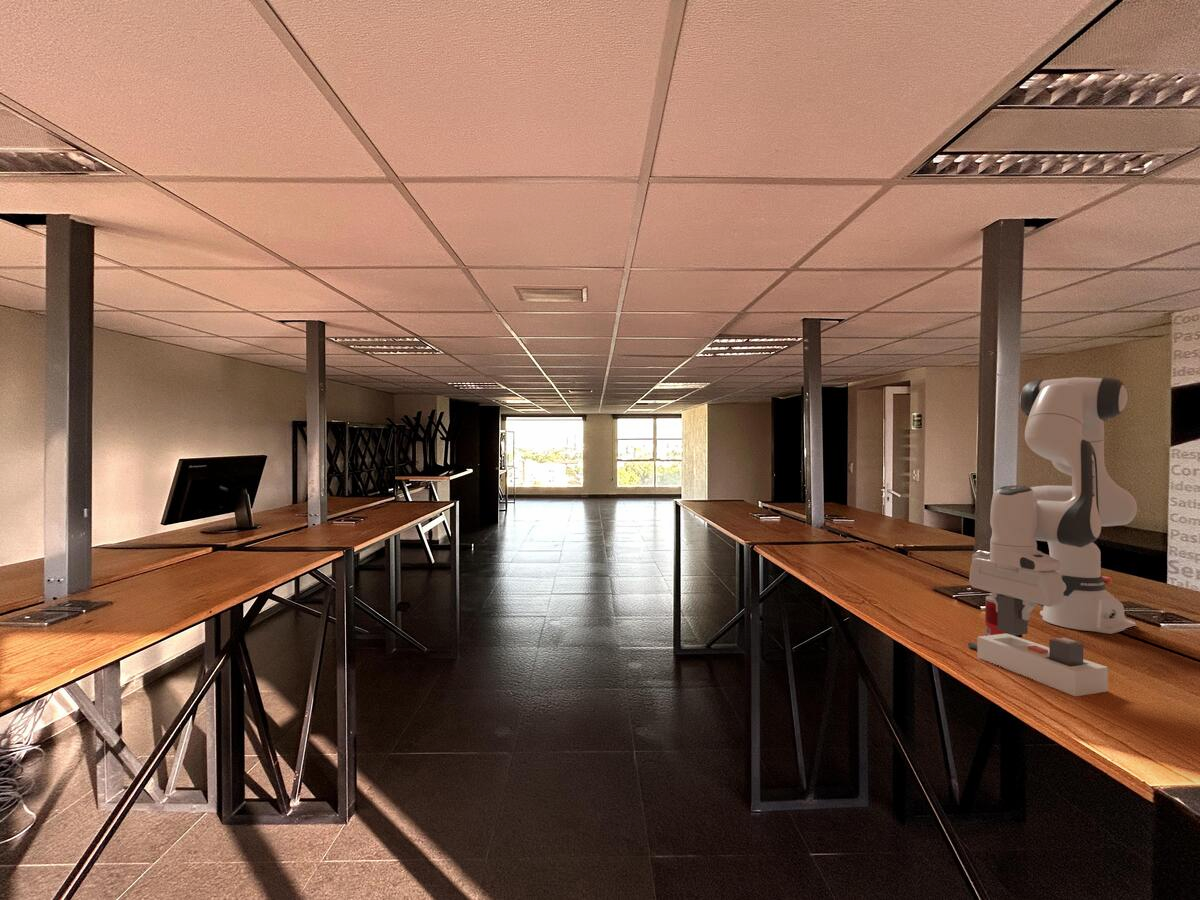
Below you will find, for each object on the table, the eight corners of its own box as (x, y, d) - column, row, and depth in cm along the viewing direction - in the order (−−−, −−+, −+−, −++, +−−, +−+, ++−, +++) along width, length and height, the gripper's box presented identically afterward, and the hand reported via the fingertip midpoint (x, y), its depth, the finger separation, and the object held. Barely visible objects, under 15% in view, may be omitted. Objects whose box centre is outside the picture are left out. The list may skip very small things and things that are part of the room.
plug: (1010, 628, 136) (1010, 592, 136) (1027, 633, 132) (1027, 597, 132) (997, 629, 135) (997, 593, 135) (1014, 635, 131) (1014, 598, 131)
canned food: (1012, 648, 143) (1012, 604, 143) (978, 639, 150) (978, 597, 150) (1029, 644, 146) (1029, 601, 146) (995, 634, 154) (995, 593, 153)
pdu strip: (984, 645, 145) (984, 608, 145) (1107, 691, 118) (1108, 645, 118) (955, 648, 143) (955, 611, 143) (1075, 696, 116) (1075, 650, 116)
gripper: (962, 549, 142) (962, 605, 142) (1046, 565, 123) (1046, 630, 123) (982, 548, 144) (982, 603, 144) (1068, 563, 124) (1068, 627, 124)
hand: (1012, 616), depth 133 cm, fingers closed on plug, 4 cm apart
